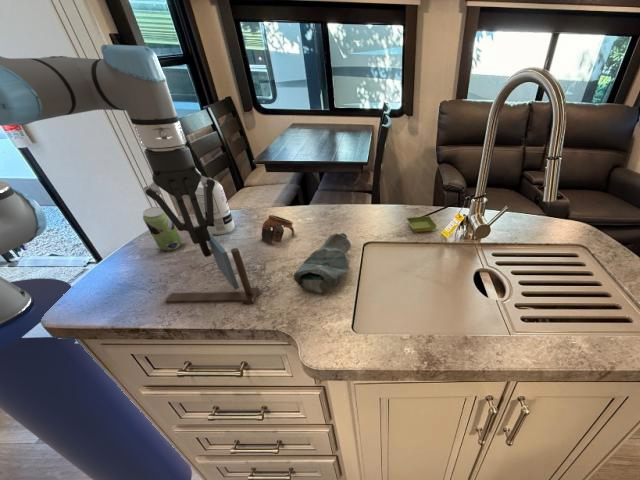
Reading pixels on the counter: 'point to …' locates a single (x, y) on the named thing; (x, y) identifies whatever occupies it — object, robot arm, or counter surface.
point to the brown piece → (275, 229)
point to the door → (222, 261)
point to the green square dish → (421, 223)
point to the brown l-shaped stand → (245, 297)
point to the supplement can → (217, 210)
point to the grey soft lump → (325, 265)
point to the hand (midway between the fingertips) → (206, 253)
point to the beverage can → (162, 228)
